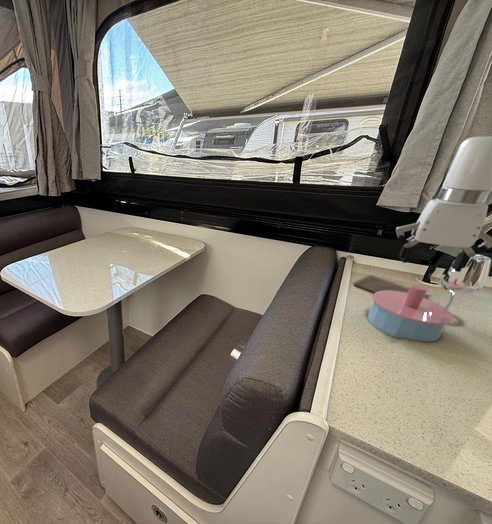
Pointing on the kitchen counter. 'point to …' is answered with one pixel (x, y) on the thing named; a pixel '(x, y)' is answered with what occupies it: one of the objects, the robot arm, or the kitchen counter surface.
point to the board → (379, 286)
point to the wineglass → (466, 277)
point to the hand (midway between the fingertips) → (428, 265)
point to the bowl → (403, 326)
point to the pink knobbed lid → (413, 306)
